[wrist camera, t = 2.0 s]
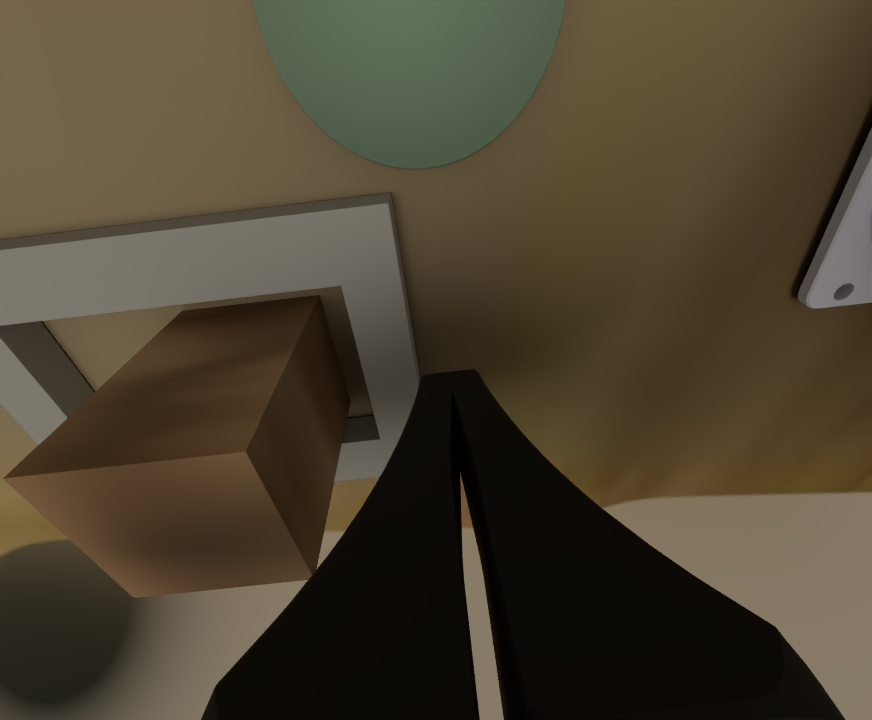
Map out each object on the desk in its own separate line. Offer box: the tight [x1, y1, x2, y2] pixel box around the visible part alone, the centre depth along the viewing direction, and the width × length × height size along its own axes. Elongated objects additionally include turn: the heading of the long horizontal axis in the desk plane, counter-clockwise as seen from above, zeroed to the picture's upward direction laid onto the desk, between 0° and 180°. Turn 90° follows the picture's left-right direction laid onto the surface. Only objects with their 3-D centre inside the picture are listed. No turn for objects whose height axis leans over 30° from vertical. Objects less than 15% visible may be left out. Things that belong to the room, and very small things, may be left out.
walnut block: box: [3, 295, 350, 598], centre depth 10 cm, size 4×4×6 cm
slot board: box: [0, 192, 420, 482], centre depth 12 cm, size 12×9×1 cm
